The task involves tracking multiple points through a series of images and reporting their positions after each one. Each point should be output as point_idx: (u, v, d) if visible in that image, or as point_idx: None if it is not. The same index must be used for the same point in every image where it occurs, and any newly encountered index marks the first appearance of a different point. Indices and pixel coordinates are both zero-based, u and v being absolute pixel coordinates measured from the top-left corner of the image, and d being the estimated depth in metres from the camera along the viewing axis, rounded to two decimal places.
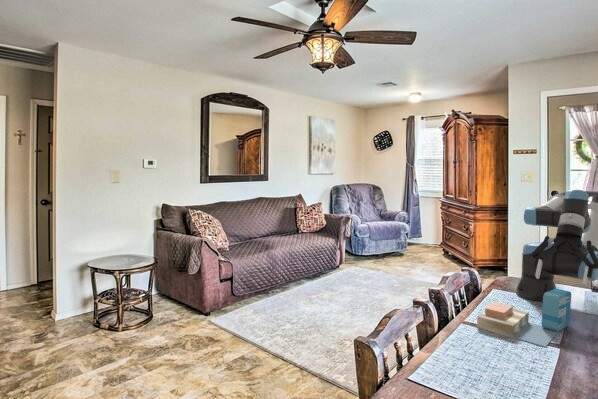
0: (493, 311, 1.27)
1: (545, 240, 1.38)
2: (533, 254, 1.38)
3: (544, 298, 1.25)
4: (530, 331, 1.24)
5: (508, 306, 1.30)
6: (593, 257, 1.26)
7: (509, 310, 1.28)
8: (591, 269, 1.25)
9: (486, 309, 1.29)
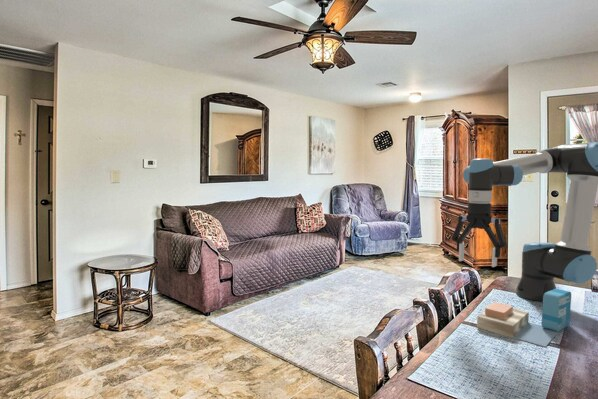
0: (493, 311, 1.27)
1: (459, 221, 1.37)
2: (454, 238, 1.39)
3: (544, 298, 1.25)
4: (530, 331, 1.24)
5: (508, 306, 1.30)
6: (499, 238, 1.28)
7: (509, 310, 1.28)
8: (498, 250, 1.28)
9: (486, 309, 1.29)
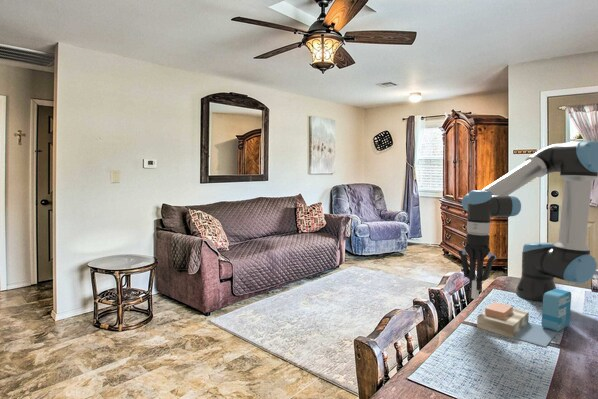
0: (493, 311, 1.27)
1: (461, 255, 1.37)
2: (466, 274, 1.36)
3: (544, 298, 1.25)
4: (530, 331, 1.24)
5: (508, 306, 1.30)
6: (485, 271, 1.31)
7: (509, 310, 1.28)
8: (479, 283, 1.33)
9: (486, 309, 1.29)
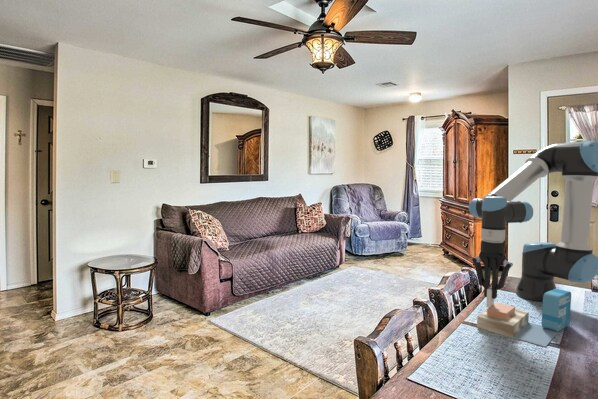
0: (495, 312, 1.26)
1: (475, 263, 1.34)
2: (480, 282, 1.33)
3: (544, 298, 1.25)
4: (530, 331, 1.24)
5: (510, 307, 1.30)
6: (500, 280, 1.28)
7: (511, 311, 1.28)
8: (494, 291, 1.30)
9: (488, 310, 1.28)
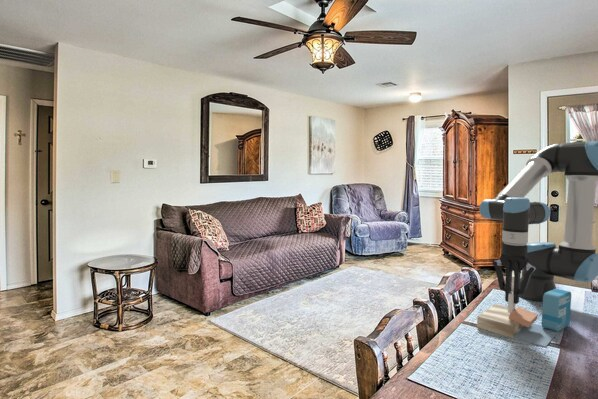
0: (518, 318, 1.21)
1: (496, 266, 1.29)
2: (501, 286, 1.28)
3: (544, 298, 1.25)
4: (530, 331, 1.24)
5: (533, 314, 1.25)
6: (523, 284, 1.23)
7: (534, 318, 1.23)
8: (516, 296, 1.25)
9: (511, 314, 1.23)
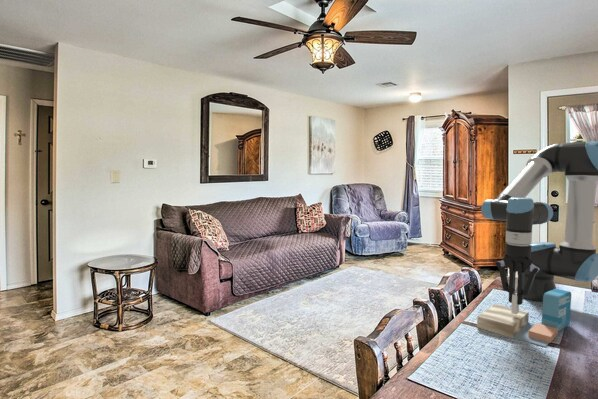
0: (540, 338, 1.17)
1: (499, 267, 1.28)
2: (505, 287, 1.27)
3: (544, 298, 1.25)
4: None
5: None
6: (527, 285, 1.22)
7: None
8: (520, 297, 1.24)
9: (549, 341, 1.15)
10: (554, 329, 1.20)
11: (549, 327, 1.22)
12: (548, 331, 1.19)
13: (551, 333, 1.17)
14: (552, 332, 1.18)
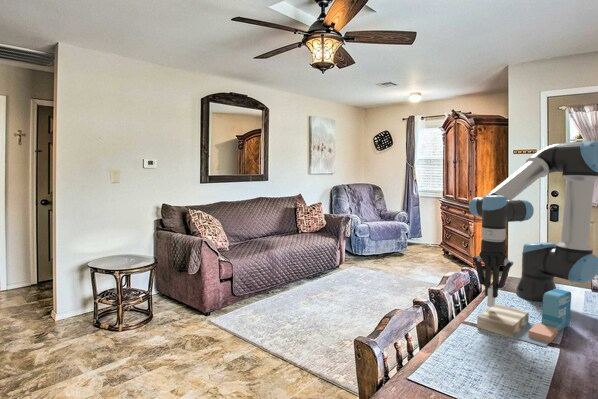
0: (540, 338, 1.17)
1: (476, 262, 1.34)
2: (481, 281, 1.33)
3: (544, 298, 1.25)
4: None
5: None
6: (501, 279, 1.28)
7: None
8: (495, 290, 1.30)
9: (549, 341, 1.15)
10: (554, 329, 1.20)
11: (549, 327, 1.22)
12: (548, 331, 1.19)
13: (551, 333, 1.17)
14: (552, 332, 1.18)
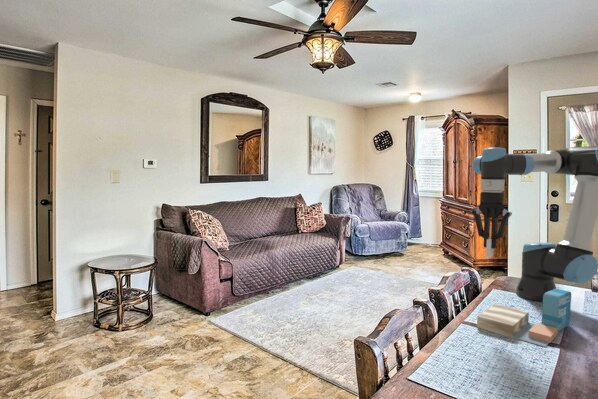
0: (540, 338, 1.17)
1: (475, 215, 1.36)
2: (480, 233, 1.35)
3: (544, 298, 1.25)
4: None
5: None
6: (500, 229, 1.30)
7: None
8: (494, 241, 1.32)
9: (549, 341, 1.15)
10: (554, 329, 1.20)
11: (549, 327, 1.22)
12: (548, 331, 1.19)
13: (551, 333, 1.17)
14: (552, 332, 1.18)
